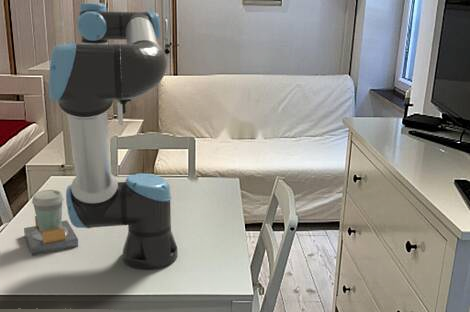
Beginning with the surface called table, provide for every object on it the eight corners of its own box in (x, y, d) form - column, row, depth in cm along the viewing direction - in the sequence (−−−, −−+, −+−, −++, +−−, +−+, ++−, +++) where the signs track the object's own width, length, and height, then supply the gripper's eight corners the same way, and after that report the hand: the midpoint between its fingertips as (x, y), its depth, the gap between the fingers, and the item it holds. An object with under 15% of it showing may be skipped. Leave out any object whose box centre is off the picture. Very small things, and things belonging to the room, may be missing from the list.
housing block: (78, 246, 150) (77, 227, 148) (32, 255, 144) (30, 236, 142) (67, 227, 162) (66, 209, 160) (24, 235, 156) (22, 217, 154)
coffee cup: (56, 240, 147) (53, 201, 144) (29, 237, 149) (25, 198, 145) (71, 227, 155) (68, 190, 152) (45, 224, 157) (41, 187, 153)
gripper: (131, 54, 164) (133, 119, 170) (49, 56, 152) (55, 127, 158) (139, 56, 157) (141, 124, 164) (54, 59, 145) (60, 132, 152)
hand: (99, 126), depth 161 cm, fingers open, 13 cm apart
